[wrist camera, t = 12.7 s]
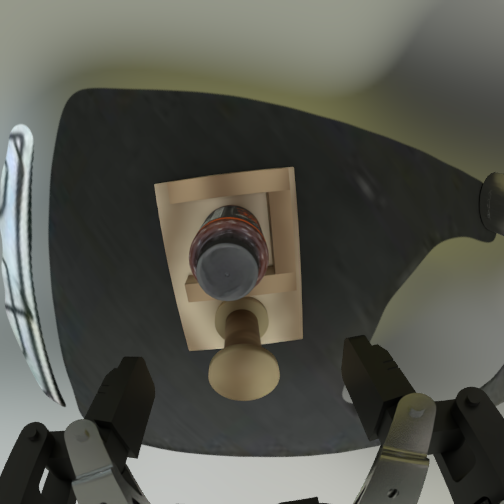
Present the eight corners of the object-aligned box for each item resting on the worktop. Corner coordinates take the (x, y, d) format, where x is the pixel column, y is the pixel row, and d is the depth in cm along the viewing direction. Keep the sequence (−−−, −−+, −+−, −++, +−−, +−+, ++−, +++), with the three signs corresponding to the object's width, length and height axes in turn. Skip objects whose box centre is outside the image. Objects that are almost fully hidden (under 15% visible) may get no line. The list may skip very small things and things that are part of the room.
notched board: (291, 166, 28) (299, 167, 24) (301, 334, 34) (307, 350, 30) (156, 183, 27) (146, 186, 24) (190, 346, 33) (186, 363, 30)
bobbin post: (265, 292, 31) (277, 346, 21) (269, 336, 32) (281, 396, 23) (211, 298, 30) (202, 354, 21) (219, 342, 32) (215, 402, 23)
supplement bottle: (273, 231, 29) (294, 272, 18) (233, 271, 30) (232, 331, 19) (229, 191, 27) (223, 208, 16) (190, 234, 28) (162, 277, 17)
